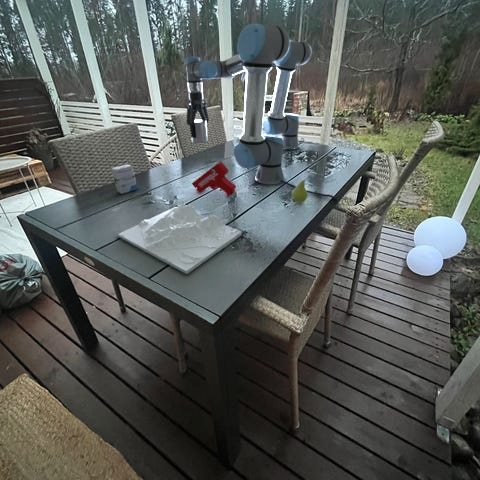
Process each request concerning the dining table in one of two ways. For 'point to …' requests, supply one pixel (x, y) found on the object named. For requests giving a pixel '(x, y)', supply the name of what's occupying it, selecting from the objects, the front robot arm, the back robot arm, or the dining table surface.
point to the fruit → (300, 192)
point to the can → (200, 131)
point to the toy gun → (215, 180)
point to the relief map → (181, 237)
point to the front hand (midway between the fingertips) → (199, 136)
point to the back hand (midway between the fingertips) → (250, 92)
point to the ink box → (124, 178)
